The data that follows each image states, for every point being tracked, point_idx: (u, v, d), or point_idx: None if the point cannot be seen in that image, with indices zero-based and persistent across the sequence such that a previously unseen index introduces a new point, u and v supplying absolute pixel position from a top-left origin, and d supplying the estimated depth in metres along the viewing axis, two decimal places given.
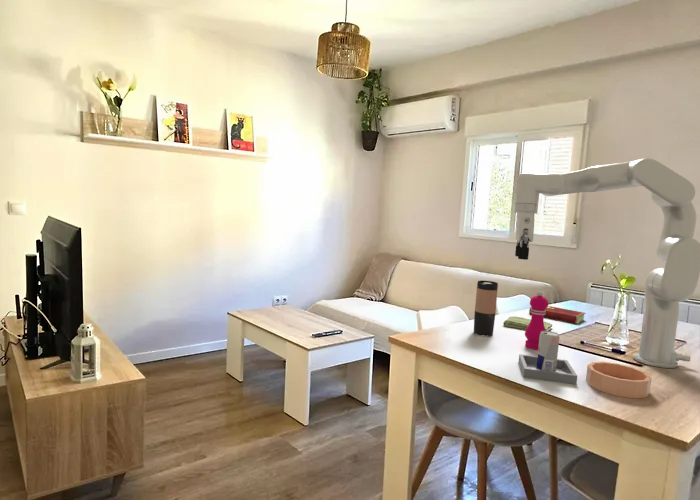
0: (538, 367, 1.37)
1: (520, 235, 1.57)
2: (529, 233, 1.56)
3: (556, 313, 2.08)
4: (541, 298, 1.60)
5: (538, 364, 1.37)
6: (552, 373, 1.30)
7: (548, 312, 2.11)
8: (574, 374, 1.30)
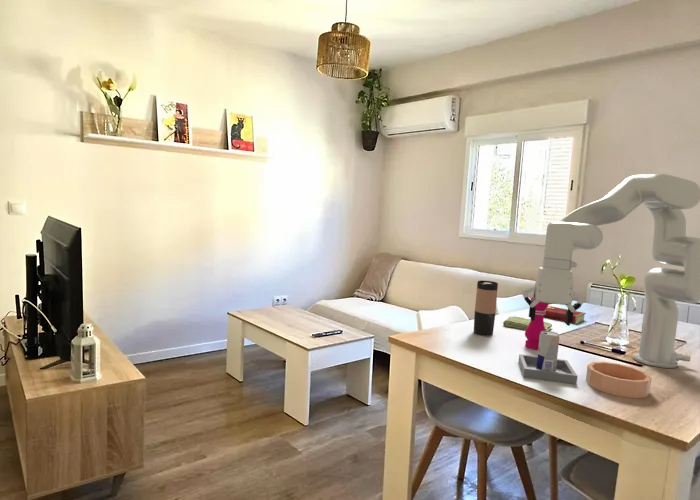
0: (538, 367, 1.37)
1: (572, 298, 1.32)
2: None
3: (555, 313, 2.09)
4: None
5: (538, 364, 1.37)
6: (552, 373, 1.30)
7: (548, 312, 2.11)
8: (574, 374, 1.30)
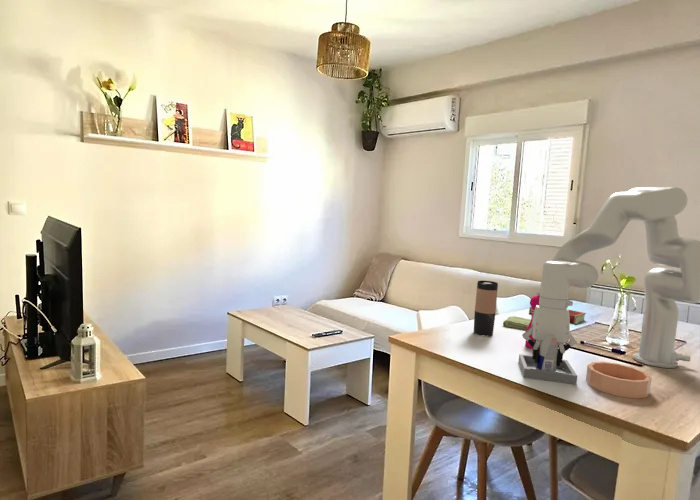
0: (538, 367, 1.37)
1: (568, 337, 1.34)
2: None
3: None
4: None
5: (538, 364, 1.37)
6: (552, 373, 1.30)
7: None
8: (574, 374, 1.30)
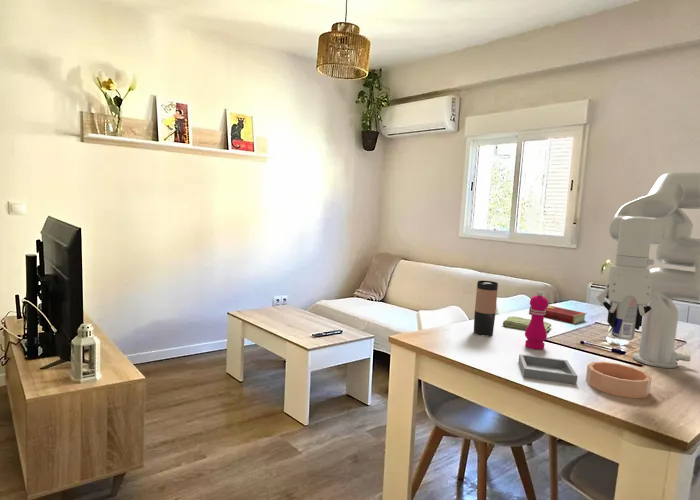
0: (615, 331, 1.27)
1: (649, 298, 1.24)
2: None
3: (554, 312, 2.09)
4: (541, 298, 1.60)
5: (615, 328, 1.27)
6: (552, 373, 1.30)
7: (547, 311, 2.12)
8: (574, 374, 1.30)
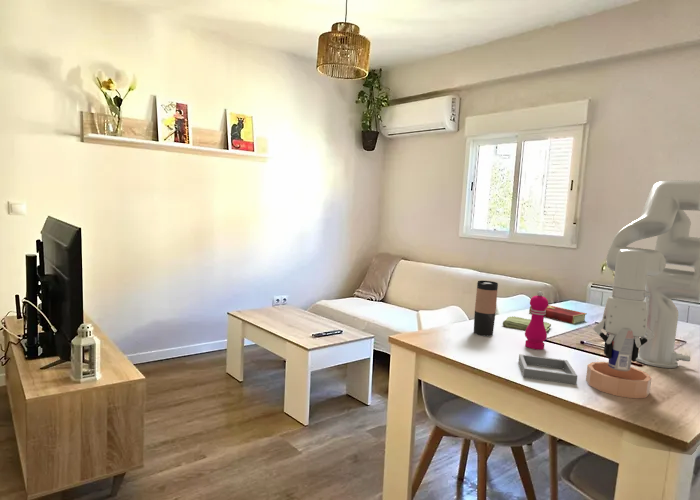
0: (611, 362, 1.28)
1: (646, 330, 1.25)
2: None
3: (554, 312, 2.09)
4: (541, 298, 1.60)
5: (611, 359, 1.28)
6: (552, 373, 1.30)
7: (547, 311, 2.12)
8: (574, 374, 1.30)
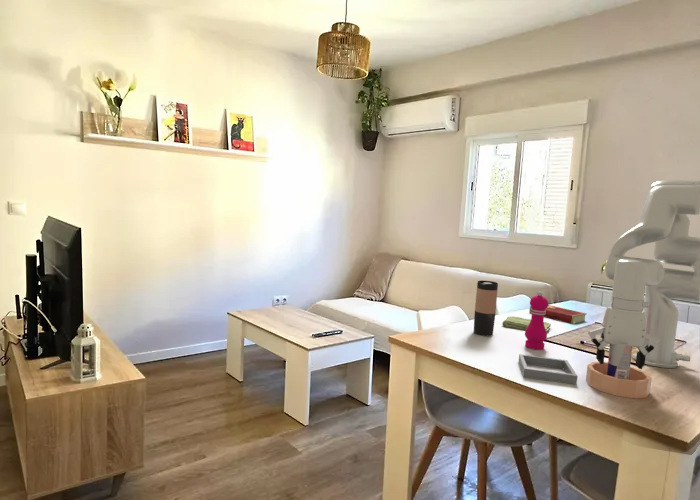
0: None
1: (644, 340, 1.25)
2: None
3: (554, 312, 2.10)
4: (541, 298, 1.60)
5: (609, 374, 1.29)
6: (552, 373, 1.30)
7: (546, 311, 2.12)
8: (574, 374, 1.30)
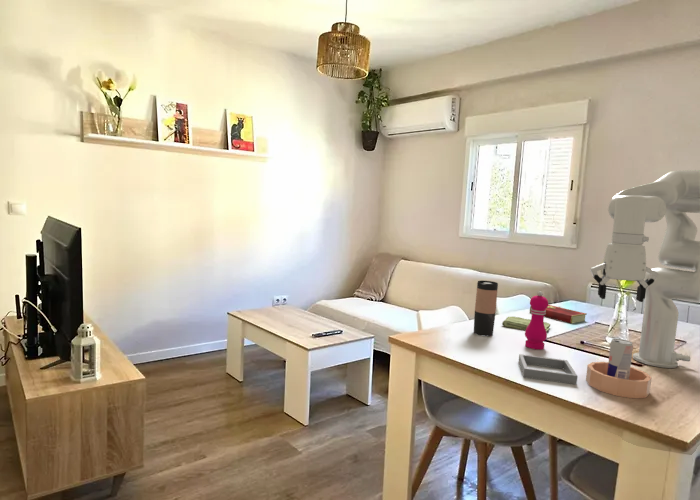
0: None
1: (645, 273, 1.28)
2: None
3: (553, 312, 2.10)
4: (541, 298, 1.60)
5: (609, 374, 1.29)
6: (552, 373, 1.30)
7: (546, 311, 2.13)
8: (574, 374, 1.30)
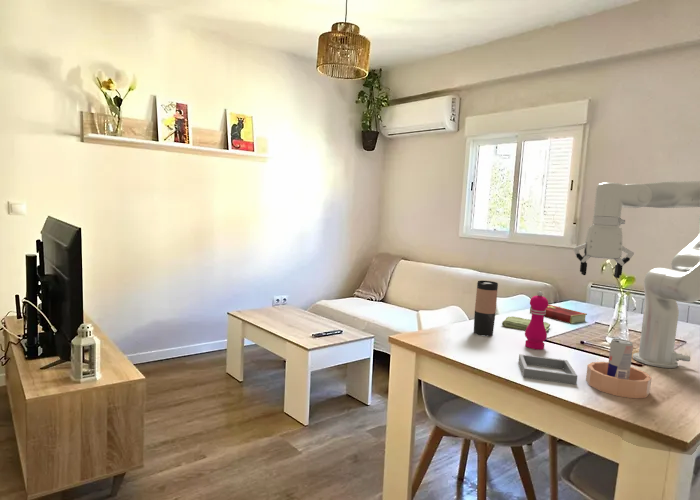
0: None
1: (621, 252, 1.44)
2: None
3: (553, 312, 2.10)
4: (541, 298, 1.60)
5: (609, 374, 1.29)
6: (552, 373, 1.30)
7: (546, 311, 2.13)
8: (574, 374, 1.30)
